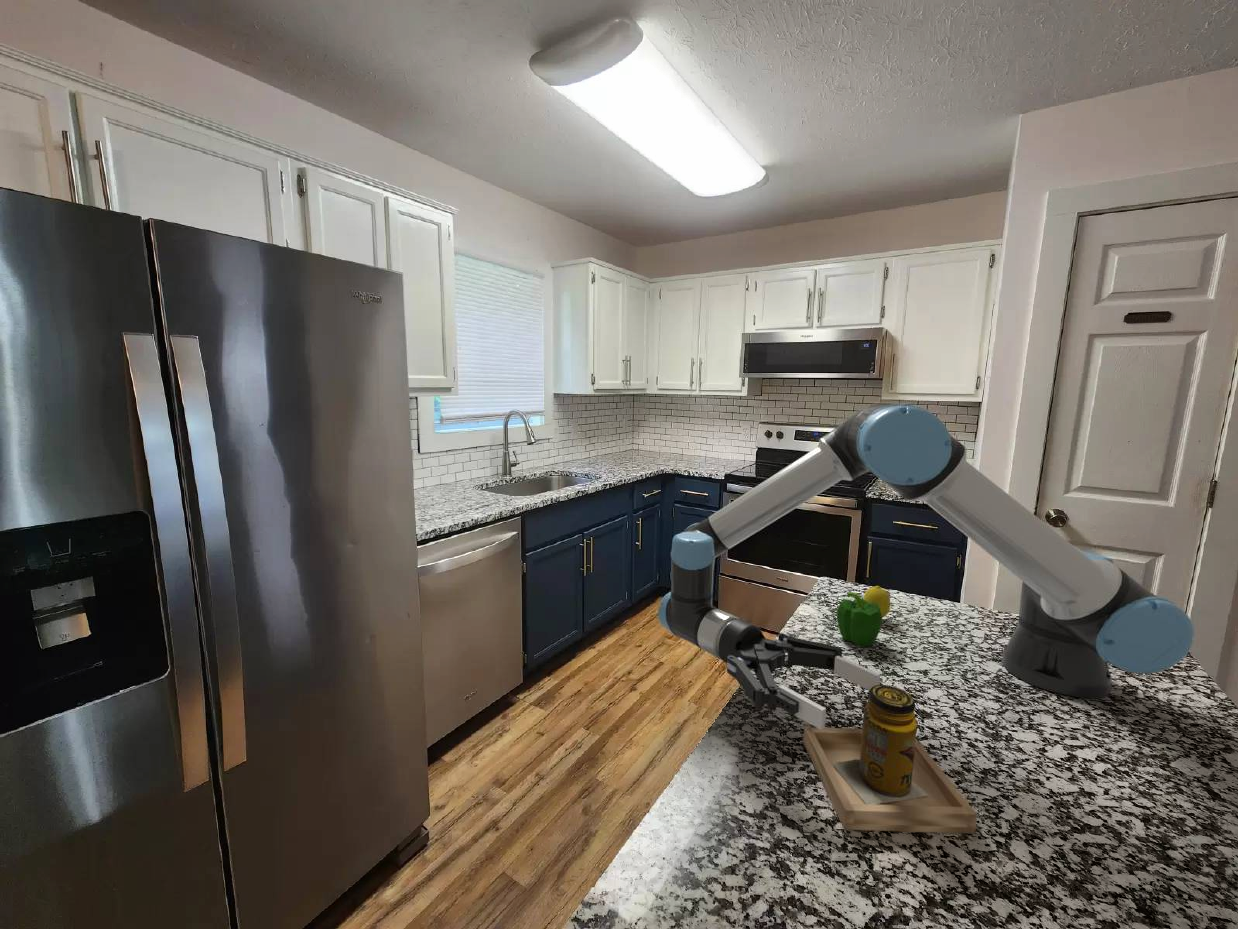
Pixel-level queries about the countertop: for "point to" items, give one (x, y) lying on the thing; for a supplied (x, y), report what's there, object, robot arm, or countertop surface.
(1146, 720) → the countertop surface
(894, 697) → the condiment
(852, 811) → the tray
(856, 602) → the bell pepper
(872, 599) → the lemon
